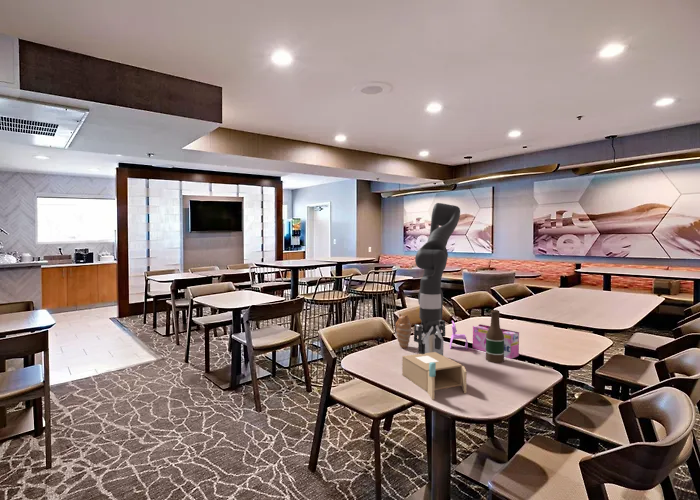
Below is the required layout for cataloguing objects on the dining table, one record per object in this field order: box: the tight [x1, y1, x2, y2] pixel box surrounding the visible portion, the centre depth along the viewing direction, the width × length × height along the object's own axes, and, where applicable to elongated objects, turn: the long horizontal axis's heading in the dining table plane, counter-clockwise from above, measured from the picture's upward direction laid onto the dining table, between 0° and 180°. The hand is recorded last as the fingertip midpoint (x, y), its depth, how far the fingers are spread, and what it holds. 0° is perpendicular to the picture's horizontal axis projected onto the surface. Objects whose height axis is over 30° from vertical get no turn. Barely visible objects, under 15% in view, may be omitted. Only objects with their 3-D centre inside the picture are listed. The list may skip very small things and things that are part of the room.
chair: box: [449, 320, 469, 350], centre depth 190 cm, size 8×9×15 cm
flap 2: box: [461, 365, 467, 394], centre depth 139 cm, size 6×1×8 cm, turn 171°
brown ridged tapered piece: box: [395, 313, 412, 349], centre depth 192 cm, size 9×8×18 cm
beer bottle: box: [485, 309, 505, 364], centre depth 170 cm, size 8×8×24 cm
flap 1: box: [427, 362, 436, 401], centre depth 133 cm, size 6×2×12 cm, turn 3°
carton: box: [401, 352, 463, 393], centre depth 148 cm, size 16×18×8 cm
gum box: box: [472, 324, 520, 360], centre depth 183 cm, size 22×7×13 cm, turn 37°
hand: (429, 351), depth 131 cm, fingers open, 8 cm apart
